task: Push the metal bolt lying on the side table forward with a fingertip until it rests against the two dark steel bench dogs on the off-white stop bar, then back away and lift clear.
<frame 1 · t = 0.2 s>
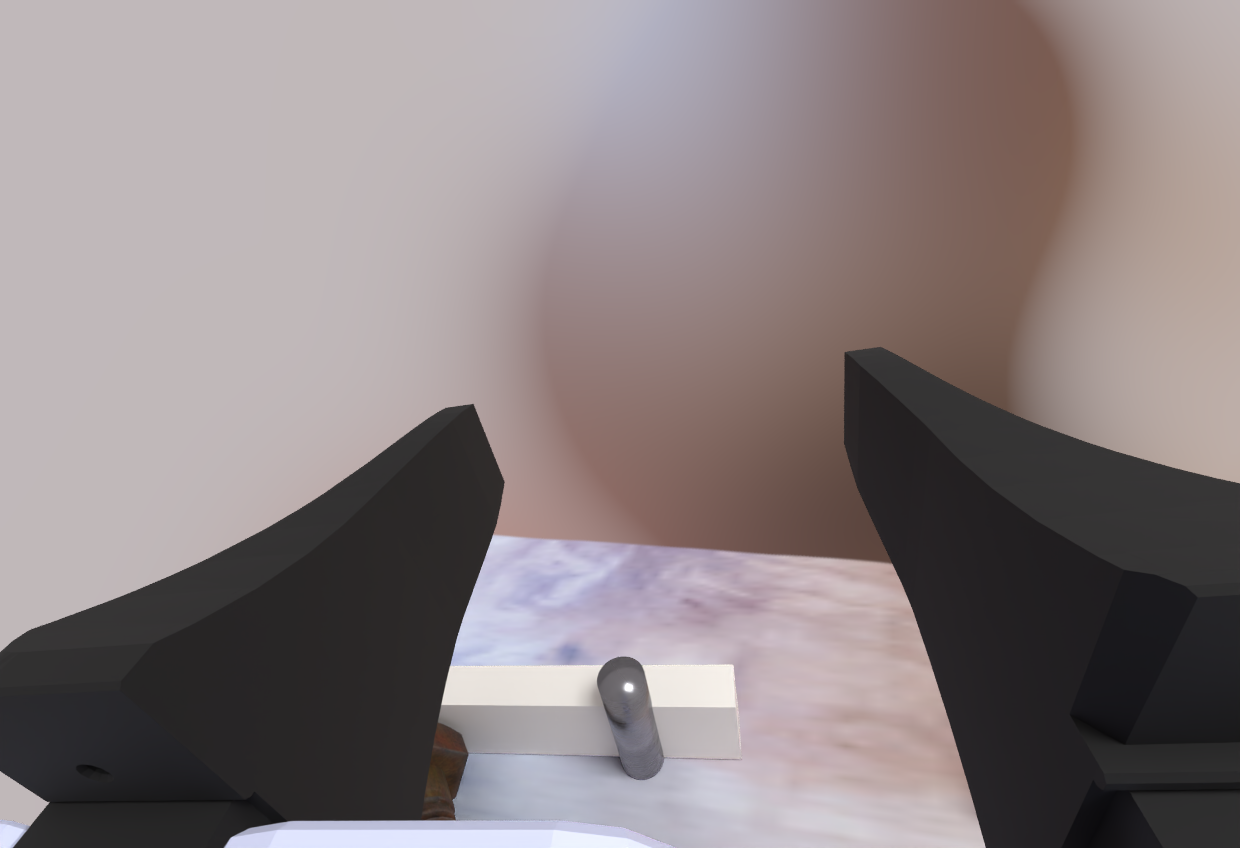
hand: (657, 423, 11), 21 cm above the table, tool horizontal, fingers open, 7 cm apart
stop bar: (535, 733, 29), on the table
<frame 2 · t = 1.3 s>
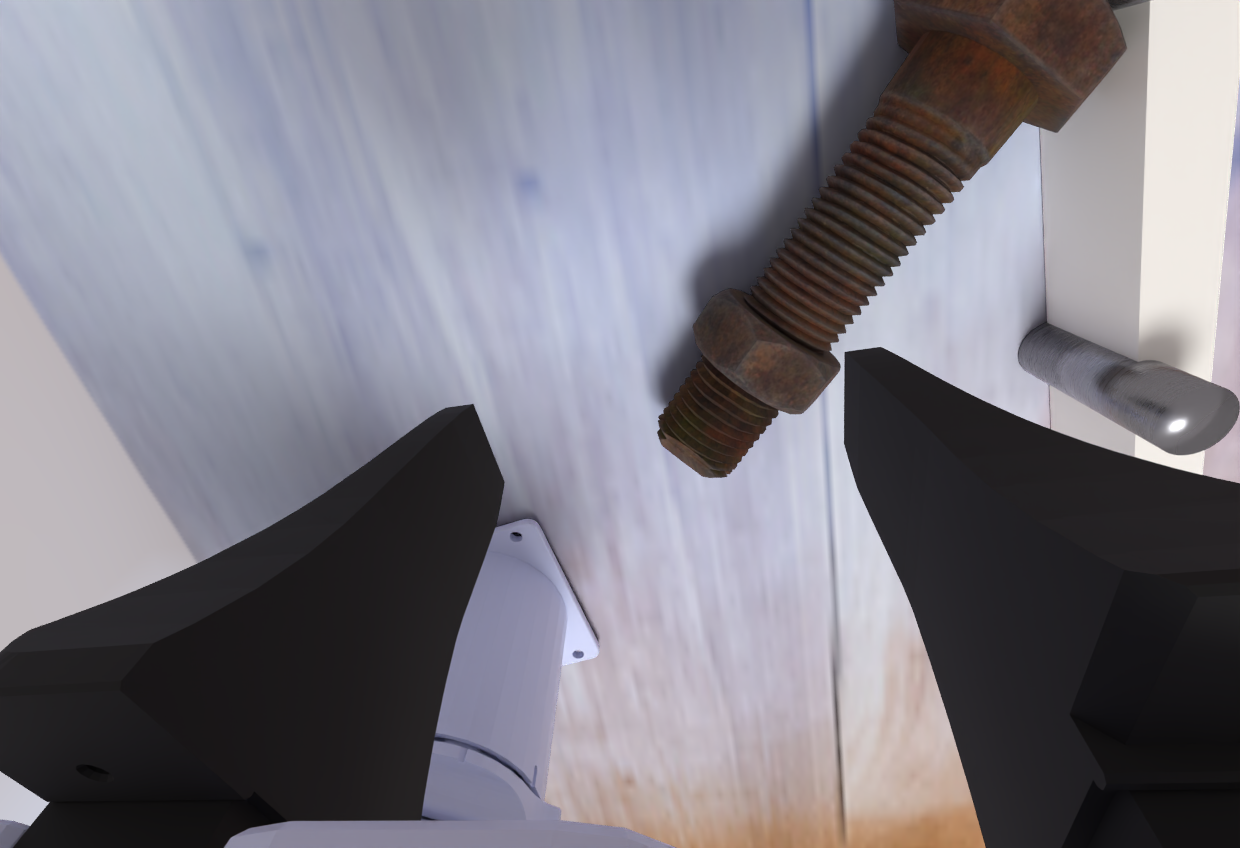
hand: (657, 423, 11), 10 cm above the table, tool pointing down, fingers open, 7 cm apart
bolt: (801, 252, 20), on the table
stop bar: (1075, 180, 18), on the table
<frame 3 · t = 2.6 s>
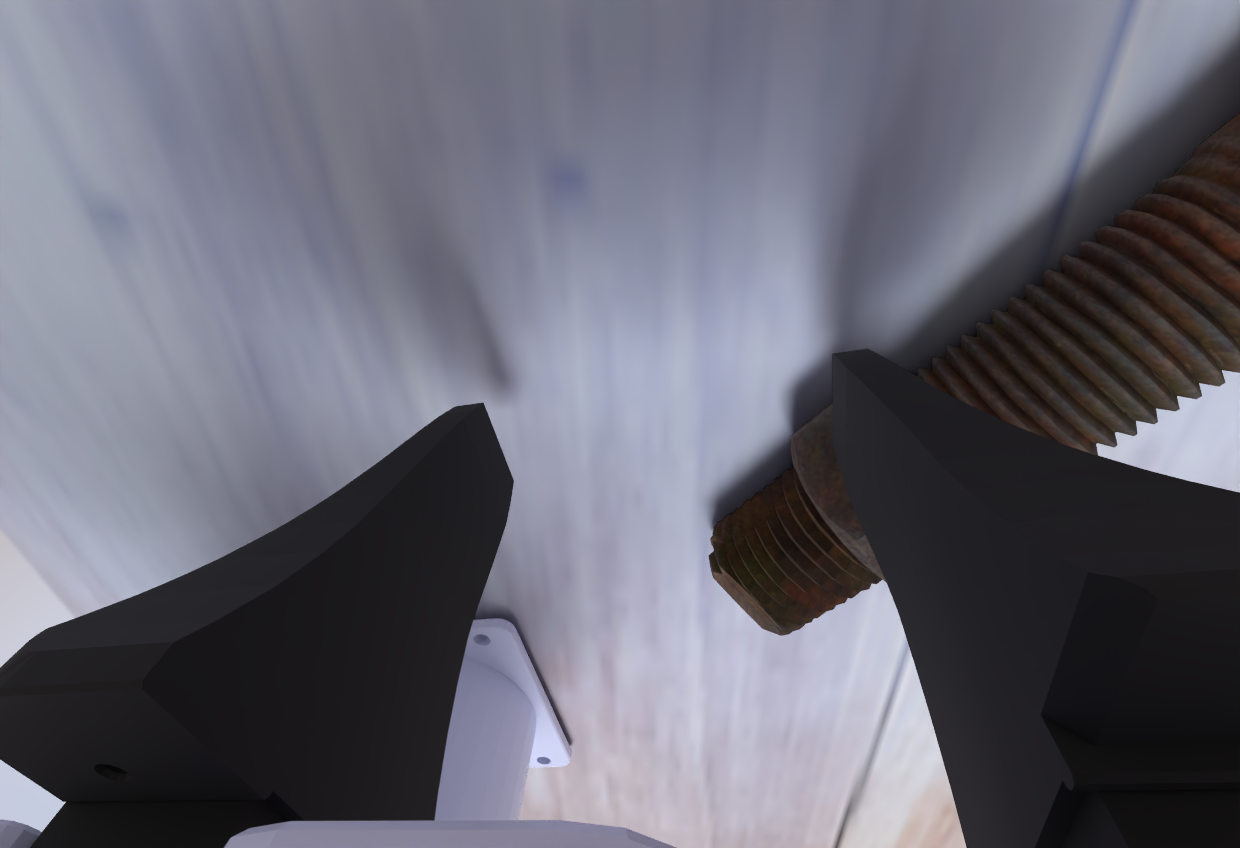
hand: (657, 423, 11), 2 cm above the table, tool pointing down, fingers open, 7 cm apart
bolt: (964, 336, 13), on the table, touching gripper
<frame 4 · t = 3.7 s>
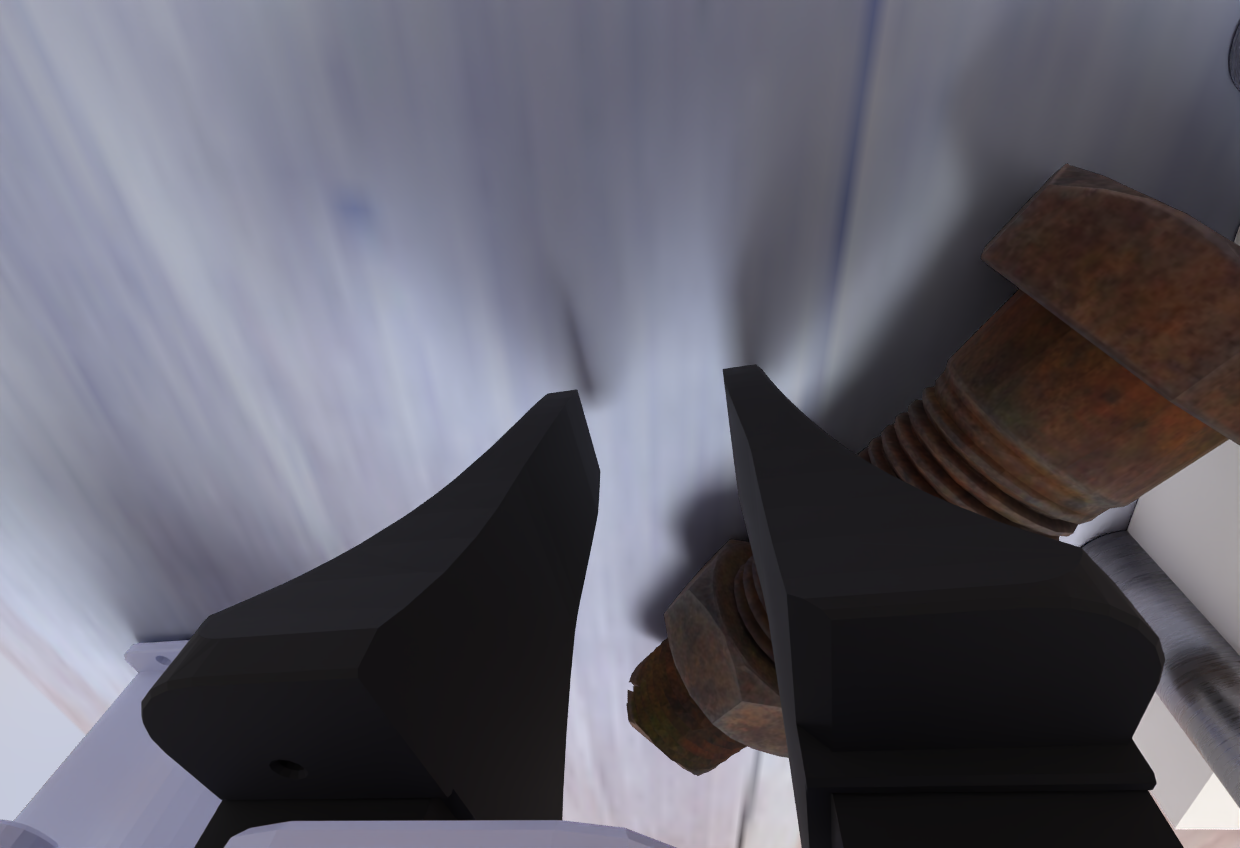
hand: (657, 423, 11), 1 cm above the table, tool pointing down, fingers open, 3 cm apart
bolt: (824, 488, 14), on the table, touching gripper, stop bar
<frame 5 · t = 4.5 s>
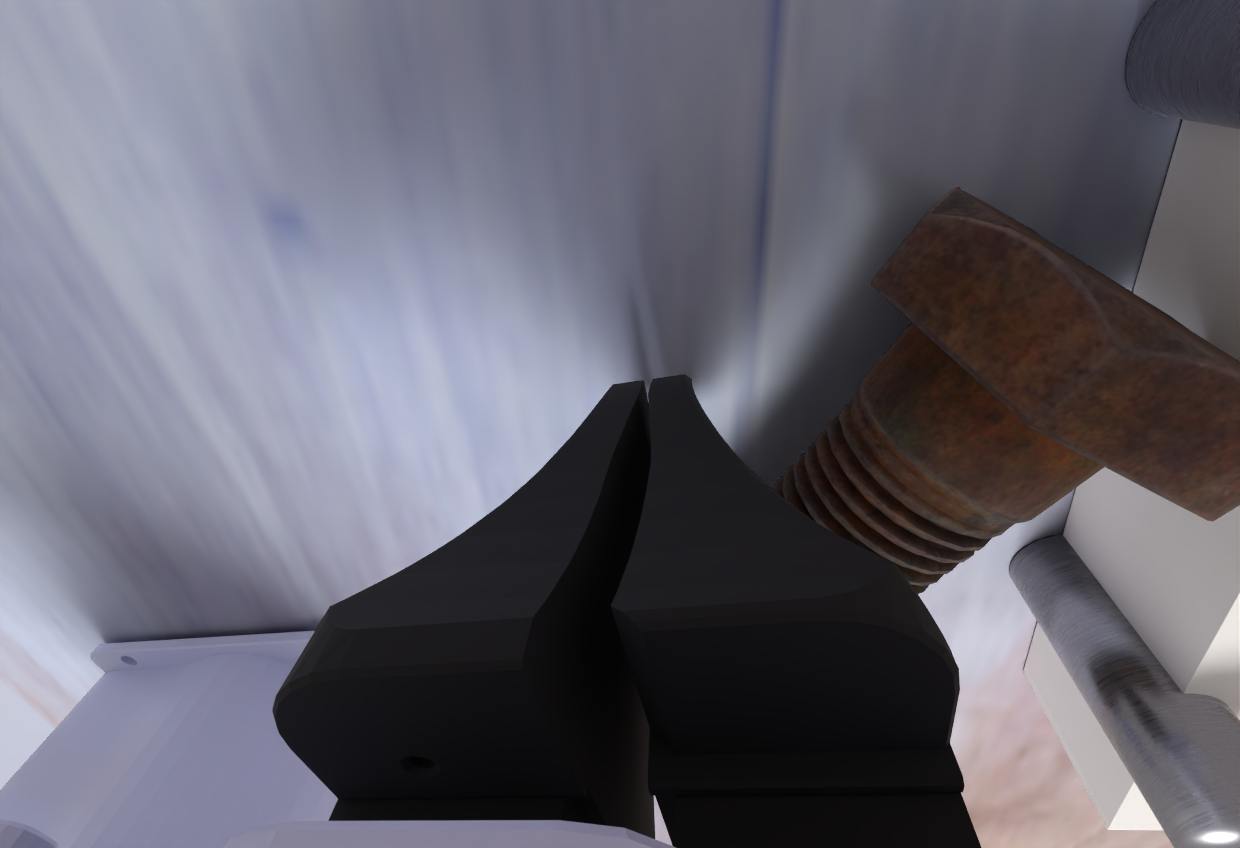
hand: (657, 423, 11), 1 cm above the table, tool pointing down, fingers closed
bolt: (771, 500, 14), on the table, touching gripper, stop bar
stop bar: (1169, 362, 11), on the table
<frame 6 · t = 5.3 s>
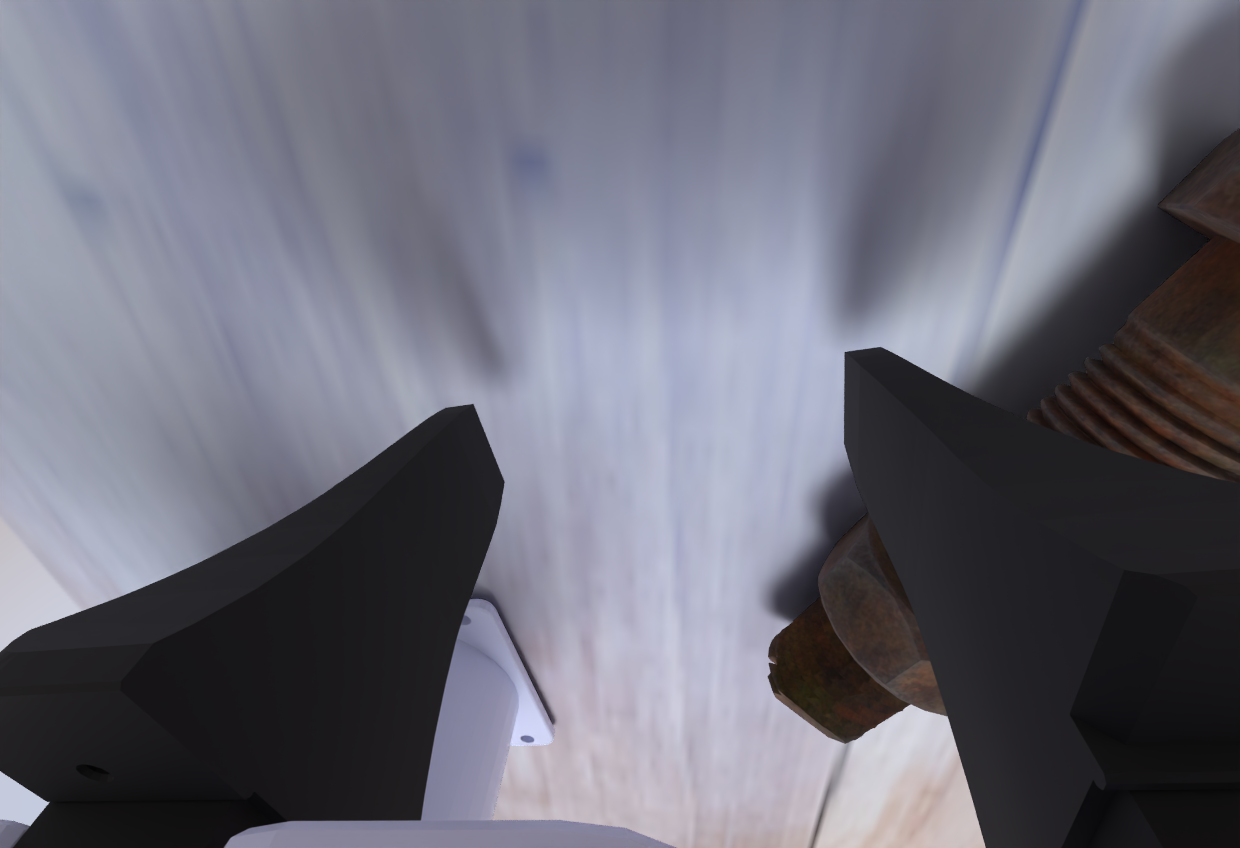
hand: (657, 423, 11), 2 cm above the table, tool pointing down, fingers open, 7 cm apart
bolt: (966, 456, 14), on the table
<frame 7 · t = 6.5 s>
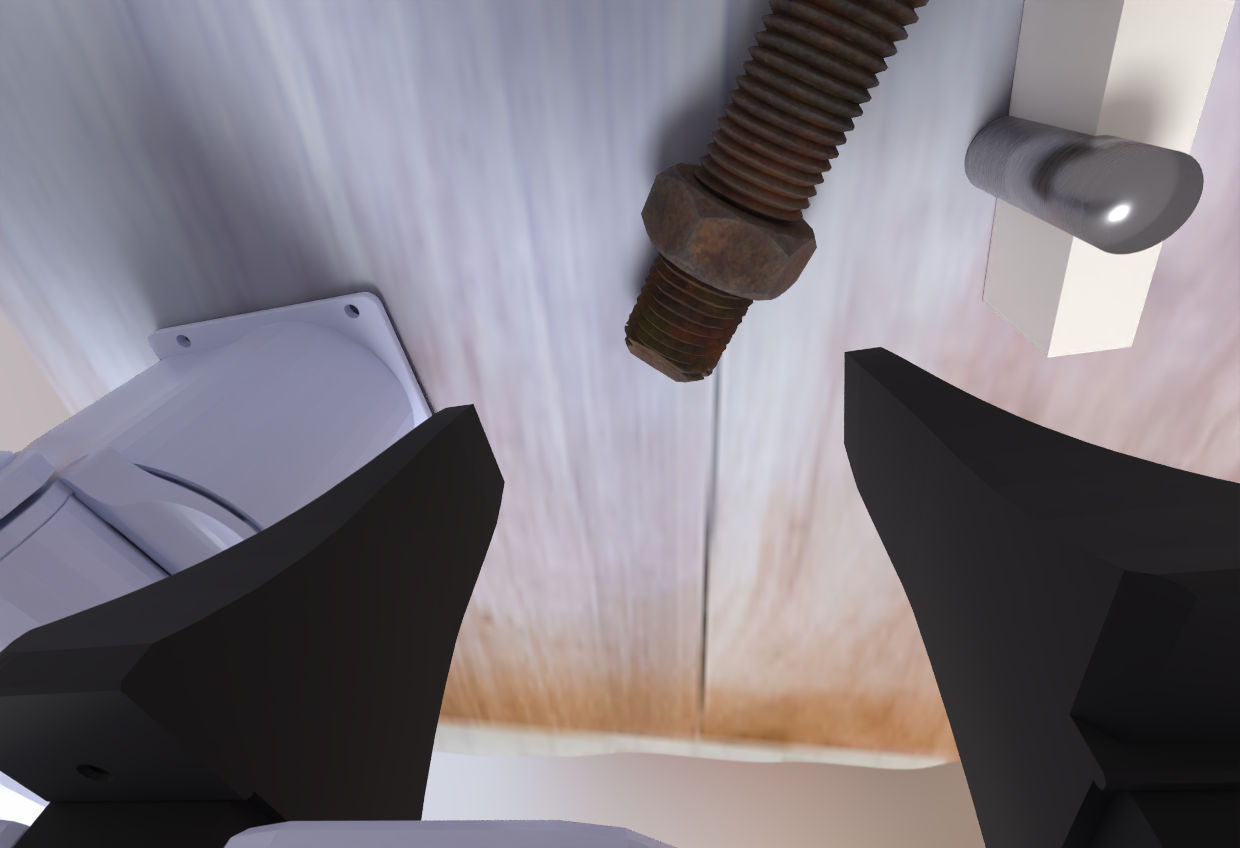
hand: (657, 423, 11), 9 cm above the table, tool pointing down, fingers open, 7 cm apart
bolt: (768, 107, 17), on the table
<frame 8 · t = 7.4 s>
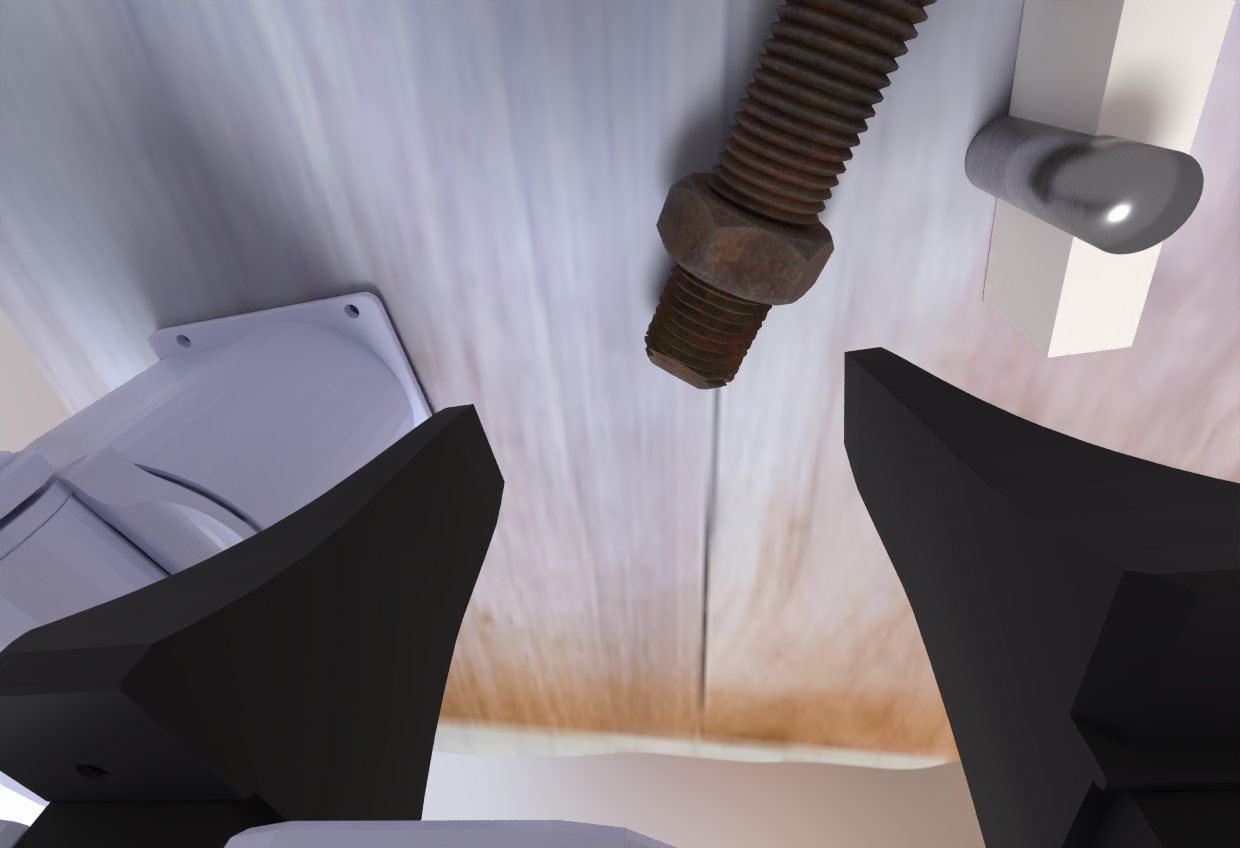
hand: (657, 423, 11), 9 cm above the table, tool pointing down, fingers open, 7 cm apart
bolt: (778, 112, 17), on the table
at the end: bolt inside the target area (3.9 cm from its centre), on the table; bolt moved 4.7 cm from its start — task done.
